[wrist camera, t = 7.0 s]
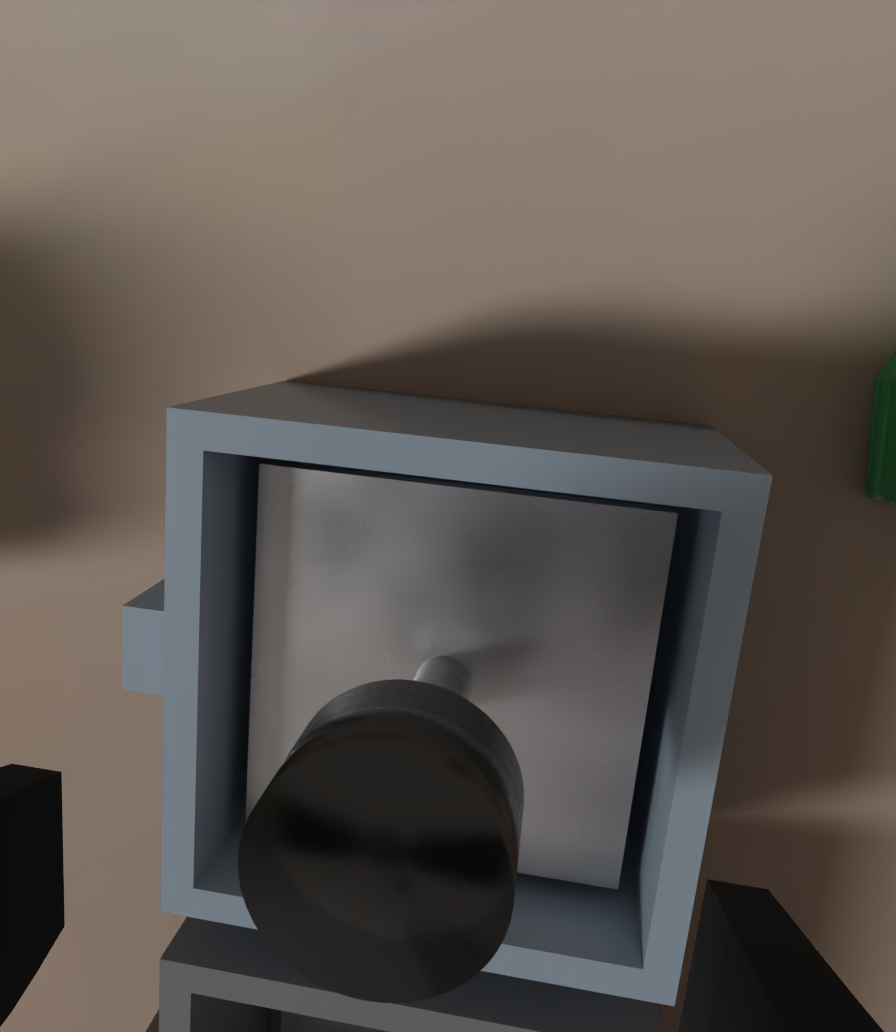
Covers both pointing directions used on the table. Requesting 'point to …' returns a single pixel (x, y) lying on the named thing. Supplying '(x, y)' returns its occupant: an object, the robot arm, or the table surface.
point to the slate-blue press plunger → (437, 714)
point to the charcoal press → (412, 1025)
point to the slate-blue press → (481, 461)
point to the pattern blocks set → (883, 437)
